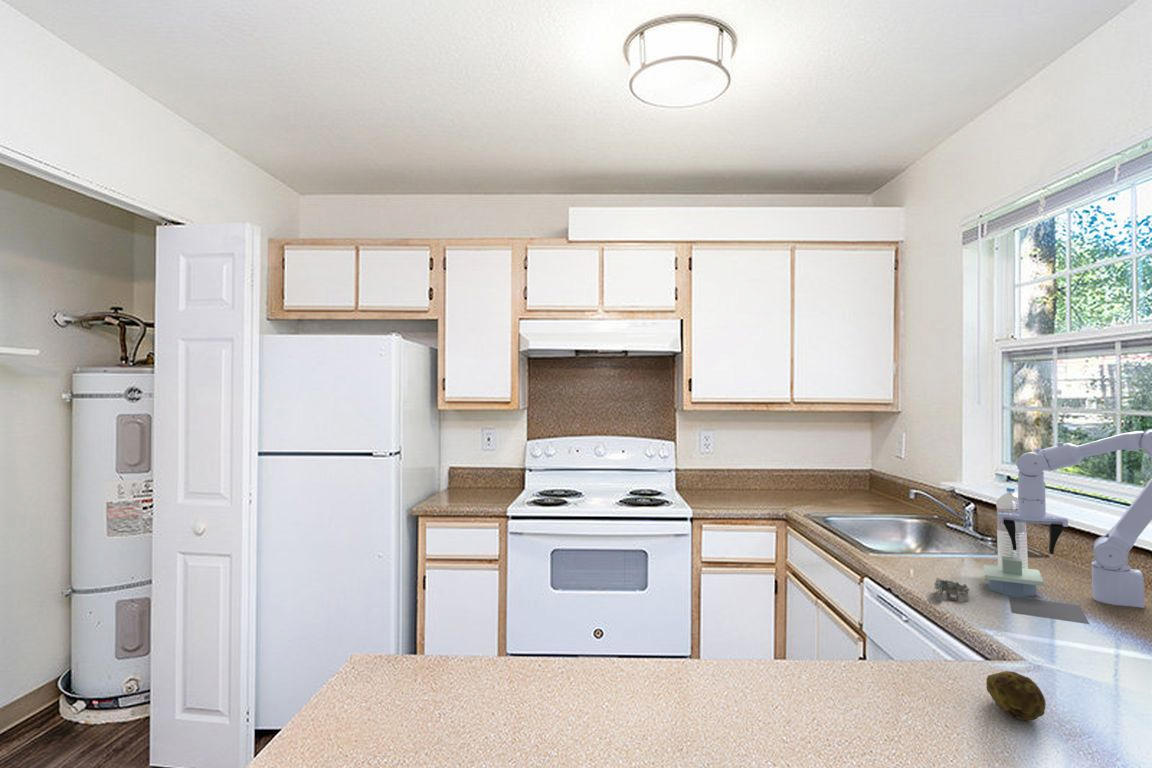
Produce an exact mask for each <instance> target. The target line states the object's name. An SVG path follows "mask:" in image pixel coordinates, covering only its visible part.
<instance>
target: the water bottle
mask: <svg viewBox="0 0 1152 768" xmlns="http://www.w3.org/2000/svg"><path fill="white" fill-rule="evenodd" d="M1005 489H1006V493H1004V494H1002V495H1001V496H1000V497H999V498H998V499H997V500H996V503H995V505H996V506H995V507H996V523H997V526H996V527H997V529H996V536H997V537H996V538H997V540H996V542H997V544H996V545H997V565H999V566H1002V556H1006V557H1016V558H1021V561H1022V568H1026V569H1029V567H1028V558H1029V557H1028V536H1027V535H1028V532H1027V523H1023V522H1015V538H1016V550H1013V546H1012V541H1011V538H1010V536H1009V533H1008V531H1007V529H1006V527H1005V525H1004V523H1003V521H999V520H998V513H1019V510H1018V494H1016V493H1015V491H1016V490H1015V489H1016V488H1015V487H1010V486H1009V487H1006V488H1005Z"/></svg>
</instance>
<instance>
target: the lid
mask: <svg viewBox="0 0 1152 768" xmlns="http://www.w3.org/2000/svg"><path fill="white" fill-rule="evenodd" d="M983 574H984V579H985V580H988V581H989V580H998V581H1006V582H1014V583H1023V584H1031V585H1036V586H1041V587H1044V586H1045V584H1044V583H1045V582H1044V579H1043V577H1042V575H1041V572H1040V570H1039V569H1034V568H1028V569H1026V568H1022V561H1021V558H1016V557H1006V556H1002V566H999V565H998V564H987V563H983Z"/></svg>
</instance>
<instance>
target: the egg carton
mask: <svg viewBox="0 0 1152 768" xmlns="http://www.w3.org/2000/svg"><path fill="white" fill-rule="evenodd" d="M933 589H934V590H935V591H936V601H938V602H941V603H942V602H943V601H948V600H954V601H957V602H959V603H964V602H970V601H969V599H970V598H969V591H970V588H969V587H968V585H967V584H966V583H965V584H964V583H963V585H962V584H960V583H959V581H956V582H954V581H952V580H947V579H946V580H944V579H940V578H938V577H936V579H935V582H934V585H933ZM944 589H946V593H944ZM958 591H959V592H958Z"/></svg>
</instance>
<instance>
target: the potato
mask: <svg viewBox="0 0 1152 768" xmlns="http://www.w3.org/2000/svg"><path fill="white" fill-rule="evenodd" d="M985 685H986V691H987V692H988V694H989V695H990V697H991V698H992V700H993V701H994V703H996V705H997V706H998V707H999V708H1000V709H1002V710H1003V711H1004V712H1005V714H1007V715H1008V716H1009V717H1010V718H1016V719H1018V718H1019V719H1018V720H1021V721H1023V722H1030V721H1035V720H1036V719H1038V718H1040V717H1042V716H1043V715H1045V711H1046V704H1047V703H1046V698H1045V696H1044V694H1043V692H1042V690H1041V688H1040V687H1039V686H1038V684H1037V683H1035V682H1034V681H1033V679H1031V678H1030V677H1028V676H1024V675H1022V674H1020V673H1018V672H1015V671H1007V670H1005V671H1000V672H997V673H992V674H988V676H987V677H986V684H985Z"/></svg>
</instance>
